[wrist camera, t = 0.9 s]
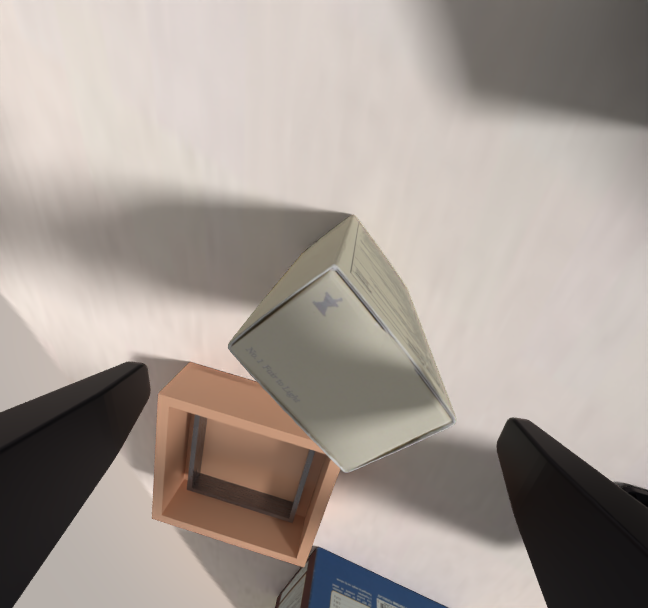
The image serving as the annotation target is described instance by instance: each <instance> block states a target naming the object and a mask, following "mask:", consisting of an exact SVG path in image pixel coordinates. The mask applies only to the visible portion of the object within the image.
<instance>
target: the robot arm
mask: <svg viewBox="0 0 648 608" xmlns="http://www.w3.org/2000/svg"><path fill="white" fill-rule="evenodd" d="M149 396H150V382H149V375H148V368H147V366H146V365H145V364H143V363H138V362H125V363H123V364H120V365H118V366H115V367H113V368H110V369H108V370H105V371H103V372H100V373H98V374H95V375H93V376H90V377H88V378H85V379H83V380H80V381H78V382H75V383H73V384H70V385H68V386H65V387H63V388H60V389H58V390H56V391H53V392H51V393H48V394H46V395H43V396H40V397H38V398H36V399H33V400H30V401H28V402H25V403H23V404H20V405H18V406H15V407H13V408H11V409H8V410H5V411H3V412H0V608H12V607H13V606H14V605H15V603H16V602H17V600H18V599H19V598H20V596H21V595H22V593H23V592H24V590H25V589H26V587H27V586H28V584H29V583H30V581H31V580H32V579H33V577H34V576H35V574H36V573H37V571H38V570H39V568H40V567H41V566H42V564H43V562H44V561H45V560H46V558H47V557H48V555H49V554H50V552H51V551H52V550H53V548H54V547H55V545H56V544H57V542H58V541H59V539H60V538H61V536H62V535H63V534H64V532H65V531H66V529H67V528H68V526H69V525H70V523H71V522H72V520H73V519H74V517H75V516H76V515H77V513H78V512H79V510H80V509H81V507H82V506H83V504H84V503H85V502H86V500H87V499H88V497H89V496H90V494H91V493H92V491H93V490H94V488H95V487H96V485H97V484H98V483H99V481H100V480H101V478H102V477H103V475H104V474H105V473H106V471H107V470H108V468H109V467H110V465H111V464H112V462H113V461H114V459H115V458H116V456H117V454H118V453H119V451H120V449H121V448H122V446H123V444H124V442H125V441H126V439H127V437H128V435H129V433H130V432H131V430H132V428H133V426H134V424H135V422H136V421H137V419H138V417H139V415H140V413H141V412H142V410H143V408H144V406H145V404H146V403H147V401H148V399H149ZM497 453H498V457H499V461H500V465H501V469H502V472H503V476H504V480H505V484H506V488H507V491H508V495H509V499H510V503H511V506H512V510H513V513H514V517H515V519H516V522H517V525H518V528H519V531H520V534H521V536H522V539H523V542H524V545H525V547H526V550H527V553H528V555H529V558H530V561H531V564H532V566H533V569H534V572H535V574H536V577H537V580H538V583H539V585H540V588H541V591H542V594H543V596H544V599H545V602H546V604H547V607H548V608H648V491H645V490H641V489H638V488H635V487H630V486H629V487H624V488H623V489H621V488H620V487H619V486H617V485H616V484H615V483H613V482H612V481H611V480H609V479H608V478H606V477H605V476H604V475H602V474H601V473H600V472H598V471H597V470H596V469H594V468H593V467H592V466H590V465H589V464H588V463H586V462H585V461H584V460H582V459H581V458H580V457H578V456H577V455H575V454H574V453H573V452H571V451H570V450H569V449H567V448H566V447H565V446H563V445H562V444H561V443H559V442H558V441H557V440H555V439H554V438H553V437H551V436H550V435H549V434H547V433H546V432H544V431H543V430H542V429H540V428H539V427H538V426H536V425H535V424H534V423H532V422H531V421H529V420H527V419H521V418H514V417H513V418H509V419H508V420H507V422H506V424H505V426H504V428H503V430H502V432H501V434H500V437H499V439H498V441H497Z"/></svg>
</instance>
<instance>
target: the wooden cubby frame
mask: <svg viewBox="0 0 648 608" xmlns="http://www.w3.org/2000/svg"><path fill="white" fill-rule="evenodd" d="M195 414H196V415H199V416H202V417H206V418H207V425H206V433H205V440H204V448H203V456H202V464H201V471H200V473H202V474H205V475H208V476H212V477H215V478H218V479H221V480H224V481H228V482H231V483H234V484H237V485H240V486H244V487H247V488H250V489H253V490H256V491H259V492H263V493H266V494H269V495H272V496H275V497H279V498H282V499H285V500H288V501H291V502H293V501H294V498H295V494H296V491H297V488H298V484H299V481H300V478H301V474H302V471H303V468H304V465H305V461H306V458H307V455H308V451H309V449H310V450H314V451H315V453H314V457H313V460H312V463H311V466H310V469H309V473H308V476H307V479H306V482H305V485H304V488H303V492H302V495H301V498H300V501H299V504H298V508H297V511H296V514H295V517H294V520H293V523H290V522H287V521H284V520H281V519H278V518H275V517H271V516H268V515H265V514H262V513H259V512H256V511H252V510H249V509H246V508H243V507H240V506H237V505H233V504H230V503H227V502H224V501H221V500H218V499H215V498H211V497H208V496H205V495H202V494H199V493H196V492H192V491H189V490H187V482H188V472H189V463H190V454H191V445H192V436H193V427H194V417H195ZM339 471H340V468H339V467H338V466H337V465H336V464H335V463H334V462H333V461H332V460H331V459H330V458H329V457H328V456H327V455H326V454H325V453H324V452H323V451H322V450H321V448H320V447H319V446H318V445H317V444H316V443H314V442H313V440H312V439H311V438H310V437H309V436H308V435H307V434H306V433H305V432H304V431H303V430H302V429H301V428H300V427H299V426H298V425H297V424H296V423H295V422H294V420H293V419H292V418H291V417H290V416H289V415H288V414H287V413H286V412H285V411H284V410H283V409H282V408H281V407H280V406H279V405H278V404H277V403H276V402H275V400H274V399H273V398H272V397H271V396H270V395H269V394H268V393H267V392H266V391H265V390H264V389H263V388H262V386H261V385H260V384H259V383H258V382H255V381H252V380H249V379H245V378H242V377H239V376H235V375H232V374H229V373H225V372H222V371H218V370H215V369H212V368H208V367H205V366H202V365H198V364H195V363H192V362H189V363H188V364H187V365H186V366H185V367H184V368H183V369H182V370H181V371H180V372H179V373H178V374H177V375H176V376H175V377H174V378H173V379H172V380H171V381H170V382H169V383H168V384H167V385H166V386H165V387H164V388H163V389H162V390H161V391H160V392H159V393H158V405H157V425H156V445H155V465H154V485H153V505H152V519H155V520H158V521H161V522H164V523H167V524H170V525H173V526H176V527H180V528H183V529H186V530H189V531H192V532H195V533H198V534H201V535H204V536H208V537H211V538H214V539H217V540H220V541H223V542H226V543H229V544H232V545H235V546H239V547H242V548H245V549H248V550H251V551H254V552H257V553H260V554H263V555H266V556H270V557H273V558H276V559H279V560H282V561H285V562H288V563H291V564H294V565H298V566H301V567H305V564H306V561H307V558H308V556H309V553H310V550H311V547H312V545H313V542H314V539H315V536H316V534H317V531H318V528H319V526H320V523H321V520H322V517H323V515H324V512H325V509H326V506H327V504H328V501H329V498H330V496H331V493H332V490H333V487H334V485H335V482H336V479H337V476H338V474H339Z"/></svg>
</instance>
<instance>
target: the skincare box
mask: <svg viewBox="0 0 648 608" xmlns="http://www.w3.org/2000/svg"><path fill="white" fill-rule="evenodd" d="M228 349H229V350H230V352H231V353H232V354H233V355H234V356H235V357H236V358H237V360H238V361H239V362H240V363H241V364H242V365H243V366H244V368H245V369H246V370H247V371H248V372H249V374H250V375H251V376H252V377H253V378H254V379H255V380H256V381H257V382H258V383H259V384H260V385H261V386H262V388H263V389H264V390H265V391H266V392H267V393H268V394H269V395H270V396H271V397H272V398H273V399H274V400H275V402H276V403H277V404H278V405H279V406H280V407H281V408H282V409H283V410H284V411H285V412H286V413H287V414H288V415H289V416H290V417H291V418H292V419H293V420H294V422H295V423H296V424H297V425H298V426H299V427H300V428H301V429H302V430H303V431H304V432H305V433H306V434H307V435H308V436H309V437H310V438H311V439H312V440H313V442H314V443H316V444H317V445H318V446H319V447H320V448H321V450H322V451H323V452H324V453H325V454H326V455H327V456H328V457H329V458H330V459H331V460H332V461H333V462H334V463H335V464H336V465H337V466H338V467H339V468H340V469H341V470H342V471H343V472H346V473H348V472H352V471H354V470H356V469H359V468H361V467H363V466H365V465H367V464H369V463H372V462H374V461H377V460H379V459H381V458H384V457H386V456H388V455H390V454H393V453H395V452H397V451H399V450H401V449H404V448H406V447H409V446H411V445H413V444H415V443H417V442H420V441H422V440H424V439H426V438H428V437H430V436H432V435H435V434H437V433H439V432H442V431H444V430H446V429H448V428H450V427H452V426H454V425H455V423H456V416H455V413H454V411H453V408H452V406H451V403H450V400H449V398H448V395H447V393H446V390H445V387H444V385H443V382H442V379H441V377H440V374H439V371H438V369H437V366H436V363H435V361H434V358H433V355H432V353H431V350H430V348H429V345H428V342H427V339H426V337H425V334H424V331H423V329H422V326H421V323H420V321H419V318H418V316H417V313H416V310H415V308H414V305H413V302H412V300H411V297H410V294H409V292H408V289H407V287H406V286H405V284H404V283H403V281H402V280H401V278H400V277H399V275H398V274H397V273H396V271H395V270H394V268H393V267H392V265H391V264H390V262H389V261H388V260H387V258H386V257H385V255H384V254H383V253H382V251H381V250H380V248H379V247H378V246H377V244H376V243H375V241H374V240H373V239H372V237H371V236H370V235H369V233H368V232H367V231H366V229H365V228H364V227H363V225H362V224H361V223H360V221H359V220H358V219H357V217H356V216H355V215H351V216H349V217H348V218H347V219H345V220H344V221H343V222H341V223H340V224H339V225H337V226H336V227H335V228H333V229H332V230H331V231H329V232H328V233H327V234H326V235H324V236H323V237H322V238H320V239H319V240H318V241H317V242H315V243H314V244H313V245H312V246H310V247H309V248H308V249H307V250H306V251H304V252H303V253H302V254H301V255H300V257H299V258H298V259H297V260H296V261H295V263H294V264H293V265H292V266H291V267H290V269H289V270H288V271H287V272H286V273H285V274H284V275H283V277H282V278H281V279H280V280H279V282H278V283H277V284H276V285H275V286H274V288H273V289H272V290H271V291H270V292H269V293H268V295H267V296H266V297H265V299H264V300H263V301H262V302H261V303H260V305H259V306H258V307H257V308H256V310H255V311H254V312H253V313H252V314H251V316H250V317H249V318H248V319H247V321H246V322H245V323H244V324H243V326H242V327H241V328H240V330H239V331H238V332H237V333H236V334H235V336H234V337H233V338H232V340H231V341H230V342H229V344H228Z"/></svg>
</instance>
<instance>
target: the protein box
mask: <svg viewBox="0 0 648 608" xmlns="http://www.w3.org/2000/svg"><path fill="white" fill-rule="evenodd" d="M275 608H447V607H445V606H443V605H441V604H439V603H436V602H434V601H432V600H430V599H428V598H426V597H424V596H422V595H420V594H417V593H415V592H413V591H411V590H409V589H407V588H405V587H403V586H401V585H399V584H396V583H394V582H392V581H390V580H388V579H386V578H384V577H382V576H380V575H377V574H375V573H373V572H371V571H369V570H367V569H365V568H363V567H361V566H358V565H356V564H354V563H352V562H350V561H348V560H346V559H344V558H341V557H339V556H337V555H335V554H333V553H331V552H329V551H327V550H325V549H323V548H320V547H318V548H316V549H315V551H314V552H313V553H312V554H311V556H310V557H309V558H308V559H307V561H306V564H305V567H301V568H300V570H299V571H298V572H297V573H296V574H295V576H294V577H293V578H292V580H291V581H290V582H289V583H288V585H287V586H286V587H285V589H284V590H283V591H282V592H281V594H280V595H279V596H278V598H277V602H276V606H275Z"/></svg>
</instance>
